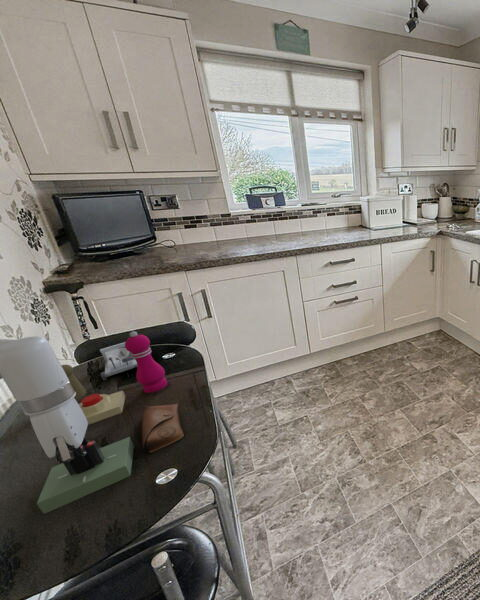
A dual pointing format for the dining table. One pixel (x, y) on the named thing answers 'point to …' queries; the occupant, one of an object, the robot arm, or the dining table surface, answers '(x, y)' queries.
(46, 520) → the dining table surface
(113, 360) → the silver toaster
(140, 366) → the pepper mill
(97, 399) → the red button
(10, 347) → the robot arm
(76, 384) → the cork
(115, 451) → the panel
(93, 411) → the button block
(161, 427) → the sunglasses case
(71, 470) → the handle knob
